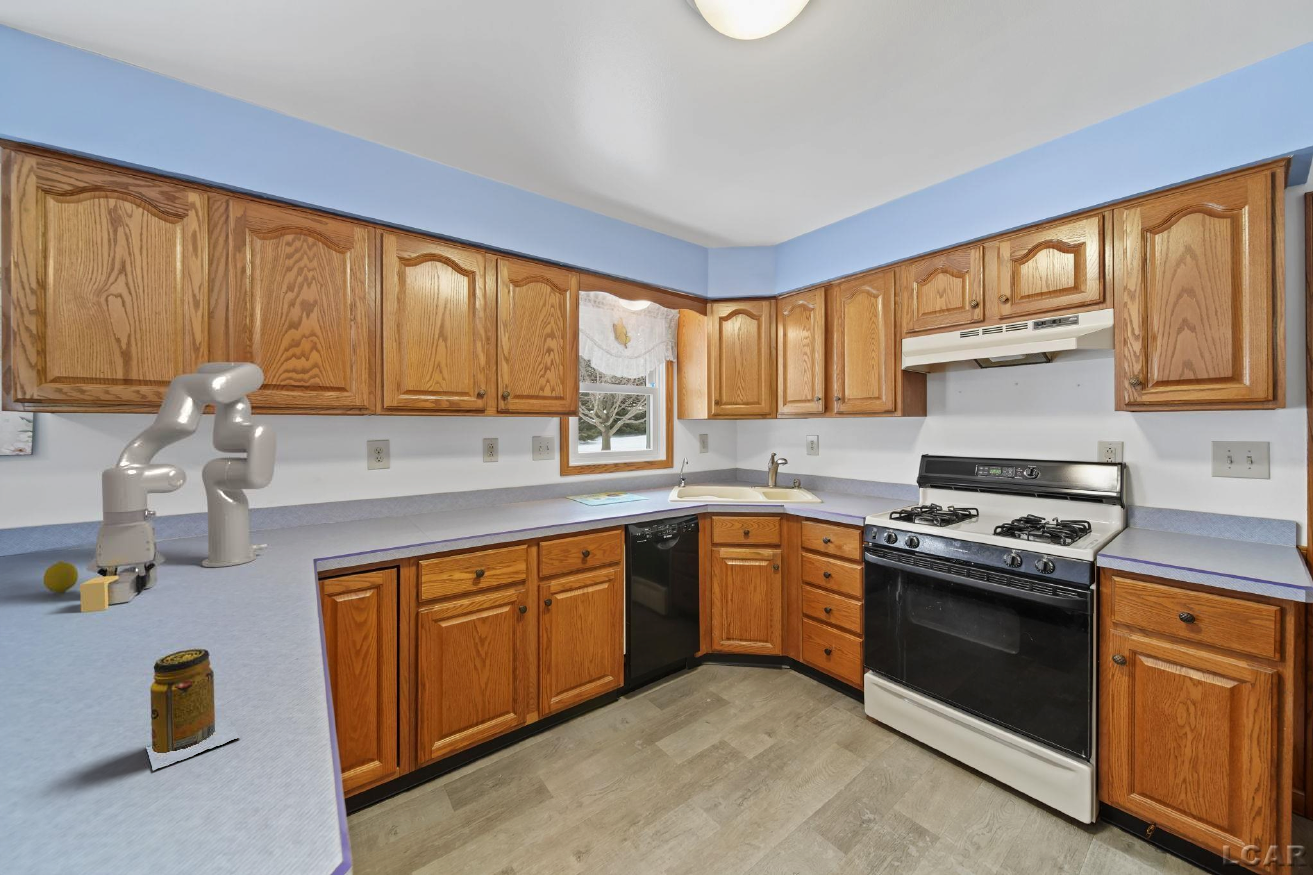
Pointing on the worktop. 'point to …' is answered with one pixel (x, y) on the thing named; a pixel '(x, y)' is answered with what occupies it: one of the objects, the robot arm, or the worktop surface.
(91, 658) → the worktop surface
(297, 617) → the worktop surface
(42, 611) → the worktop surface
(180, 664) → the condiment
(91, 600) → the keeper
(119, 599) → the link
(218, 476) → the robot arm
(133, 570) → the cylinder
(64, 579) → the lemon
